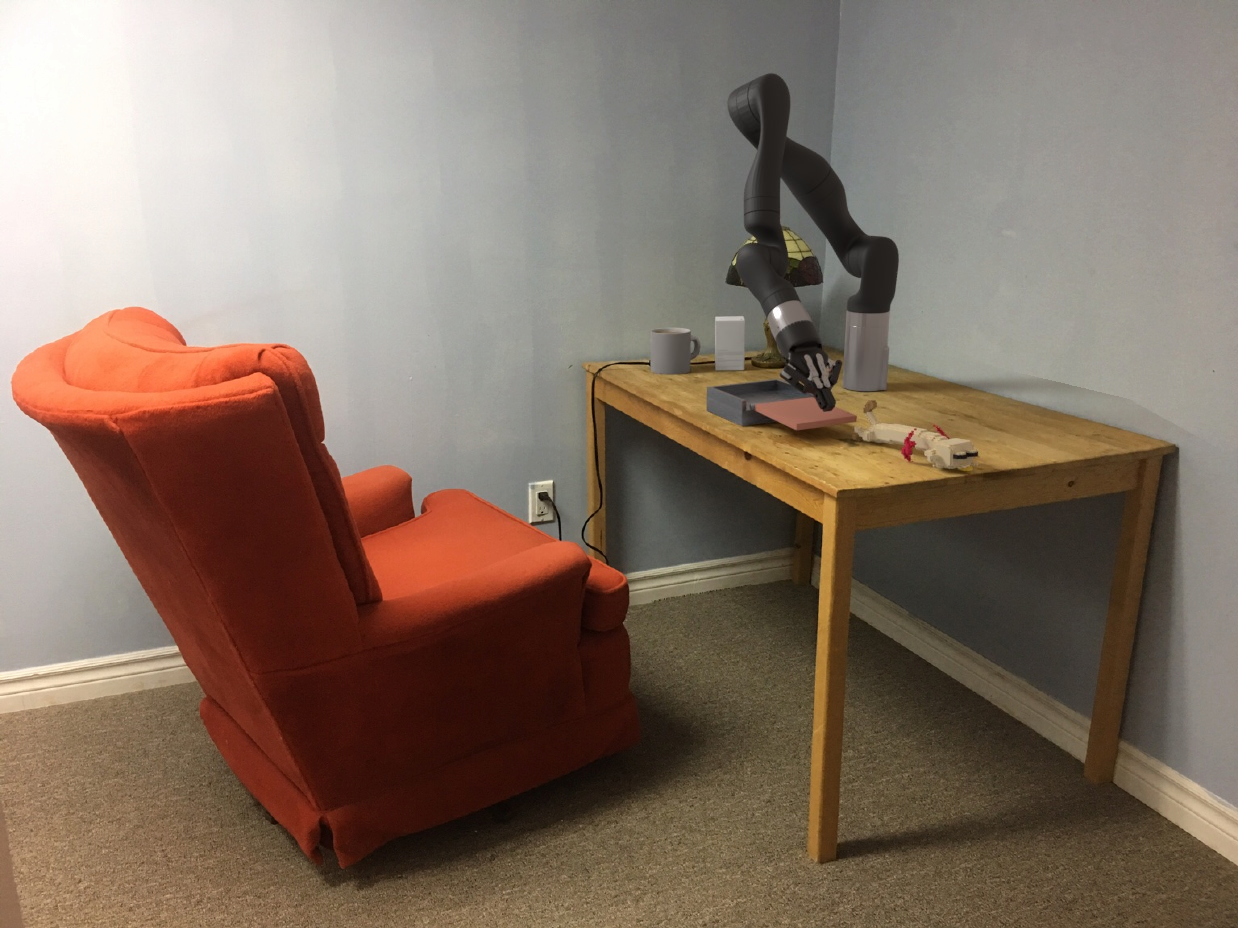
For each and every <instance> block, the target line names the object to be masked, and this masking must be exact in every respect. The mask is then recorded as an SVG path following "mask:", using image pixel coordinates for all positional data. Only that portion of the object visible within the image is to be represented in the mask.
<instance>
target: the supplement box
mask: <svg viewBox="0 0 1238 928" xmlns="http://www.w3.org/2000/svg"><path fill="white" fill-rule="evenodd" d="M745 343H746V319H745V317H744V315H738V316H736V315H735V316H734V315H733V316H730V315H729V316H715V320H714V368H715V371H745V356H746V355H745V349H746V346H745V345H746V344H745Z"/></svg>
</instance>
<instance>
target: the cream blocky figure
mask: <svg viewBox="0 0 1238 928" xmlns="http://www.w3.org/2000/svg"><path fill="white" fill-rule="evenodd" d="M876 401H877V400H875V399H868V401H867V402H866V403H865V404H864V407H863V413H864V415H865V417H866V419H868V420H869V421H870V423H871V424H870V423H869V425H868V427H867V429H866V430H865V429H864V428H863V427H862V426H854V433H852V434H851V440H854V442H858V443H859V442H869V443H870V442H873V443H877V444H882V443H886V444H890V445H894V444H897V445H901V446H902V445H903V446H902V448H901V450H900V452H901V453H900V454H901V455H902V456H903V459H904V460H906V461H907V462H908V463H909V462H910V463H911V462H914V460H912V459H911V458H912V457H911V456H912V455H913V448H915V449H916V450H917V451H922V452H924V456H926V461H927V462H929V463H931V464H932V467H933V468H934V467H935V468H938V469H939V468H940V469H943V468H944V469H949V470H951V469H954V470H955V469H957V470H958V471H963V472H966V471H967V472H970V471H973V467H976V466H979V462H976V461H975V462H974V458H976V457H979V451H978V450H977V449H975V446H974V444H973V441H971V440H969V439H963V438H957V437H955V438H953V437H952V438H950V437H949V436H948V435H947V434H946V433H945V431H944V430H943V429H942V428H941V427H939V426H937V425H936V424H932V428H935V429H936V432H932V431H929V430H928V429H927V428H921V427H915V426H910V425H906V424H905V425H904V424H899V423H891V424H890V423H885V422H881V423H880V421H879V419H878V417H877V415H876V414H875V413H874V411H873V410H876V408H877V407H878V405H877V403H878V402H876ZM934 463H935V464H934Z"/></svg>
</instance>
